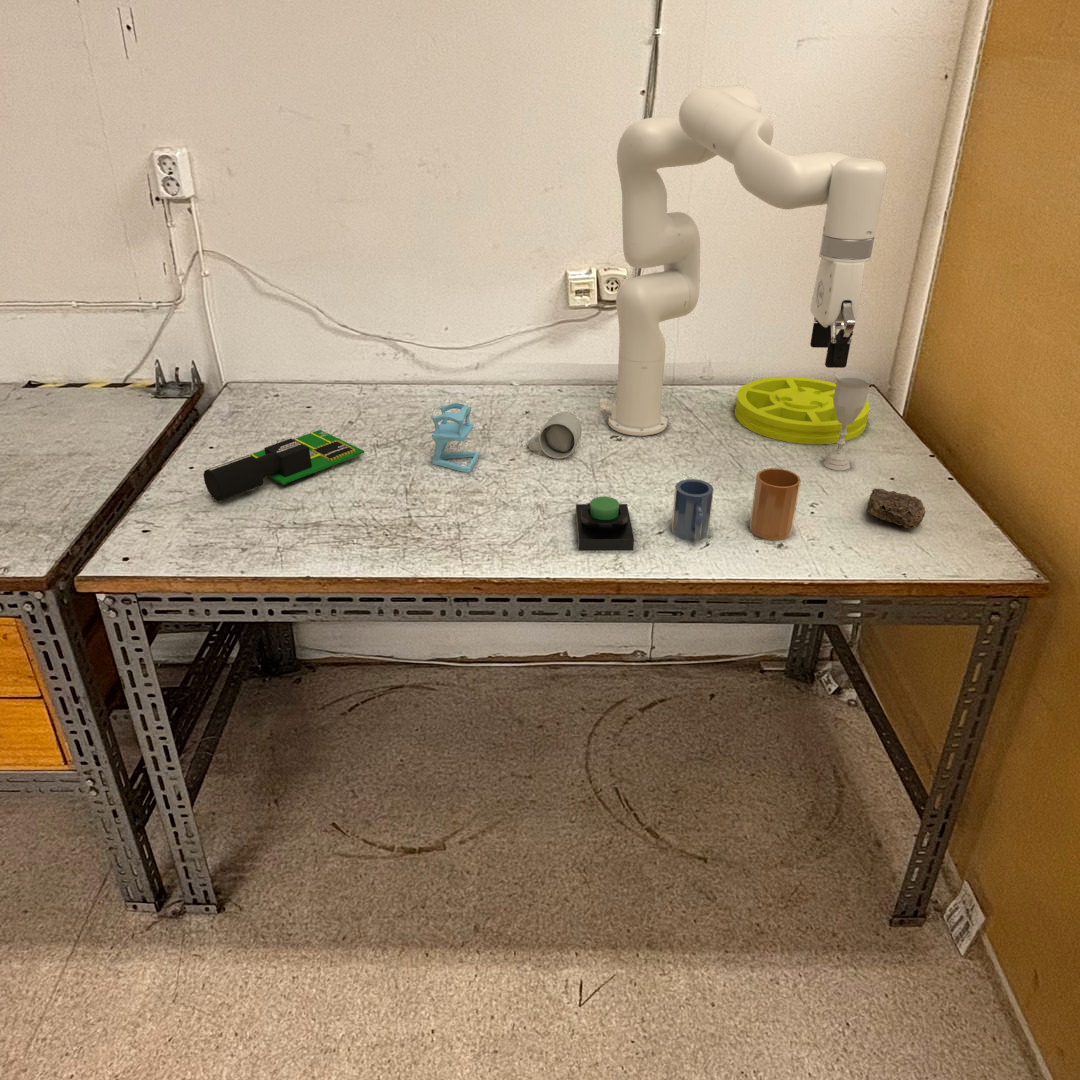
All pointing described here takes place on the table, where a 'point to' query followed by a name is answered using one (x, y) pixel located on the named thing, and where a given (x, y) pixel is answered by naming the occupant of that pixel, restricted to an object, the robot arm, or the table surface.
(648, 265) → the robot arm
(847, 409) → the chalice
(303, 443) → the circuit board with cylinder
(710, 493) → the mug
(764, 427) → the pulley
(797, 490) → the glass
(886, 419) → the table surface
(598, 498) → the button
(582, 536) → the button box
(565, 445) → the ceramic mug
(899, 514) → the concrete sample
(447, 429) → the chair
